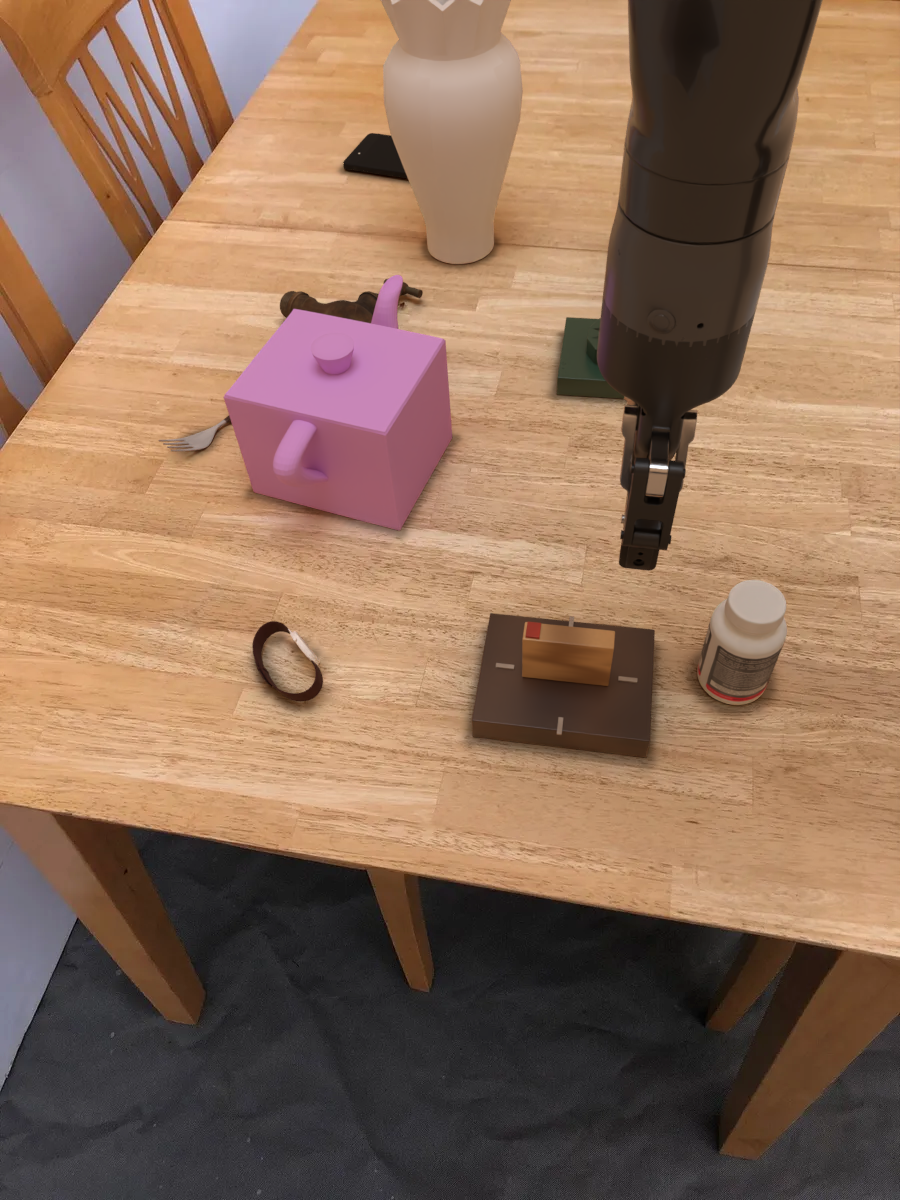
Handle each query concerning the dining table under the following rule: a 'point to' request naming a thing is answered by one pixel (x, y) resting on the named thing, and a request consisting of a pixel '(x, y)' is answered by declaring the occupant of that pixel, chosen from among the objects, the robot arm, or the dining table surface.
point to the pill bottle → (743, 643)
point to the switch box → (582, 361)
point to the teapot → (345, 413)
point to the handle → (567, 653)
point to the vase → (453, 116)
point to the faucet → (339, 304)
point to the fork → (196, 438)
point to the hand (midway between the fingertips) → (640, 513)
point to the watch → (275, 626)
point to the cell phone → (376, 157)
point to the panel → (565, 694)
